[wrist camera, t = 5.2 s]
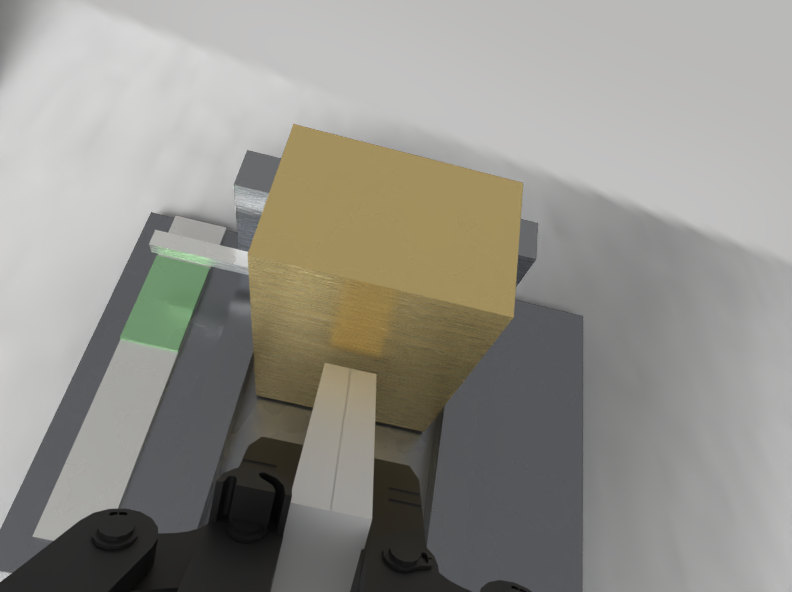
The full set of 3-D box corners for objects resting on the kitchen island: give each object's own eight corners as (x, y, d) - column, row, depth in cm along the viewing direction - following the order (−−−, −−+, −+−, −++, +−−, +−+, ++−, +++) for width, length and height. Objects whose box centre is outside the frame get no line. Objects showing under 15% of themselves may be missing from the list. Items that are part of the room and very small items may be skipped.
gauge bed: (572, 326, 26) (648, 250, 21) (568, 679, 19) (677, 697, 14) (155, 227, 24) (124, 119, 19) (-4, 570, 18) (-116, 546, 13)
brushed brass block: (438, 332, 23) (522, 182, 15) (424, 432, 21) (513, 317, 13) (166, 269, 22) (112, 77, 15) (124, 366, 20) (34, 203, 13)
